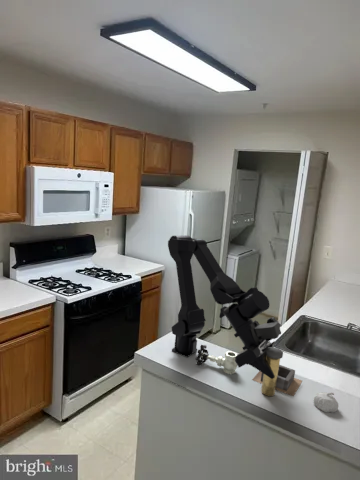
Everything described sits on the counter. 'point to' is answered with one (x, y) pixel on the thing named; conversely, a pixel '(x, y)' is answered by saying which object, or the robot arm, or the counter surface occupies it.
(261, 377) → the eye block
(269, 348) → the grey-topped tan cylinder
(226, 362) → the valve
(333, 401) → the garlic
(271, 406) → the counter surface
